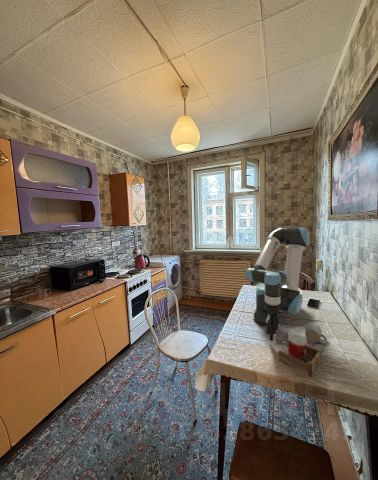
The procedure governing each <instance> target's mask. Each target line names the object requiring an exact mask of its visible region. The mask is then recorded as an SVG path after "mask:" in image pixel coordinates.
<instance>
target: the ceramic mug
mask: <svg viewBox="0 0 378 480" xmlns="http://www.w3.org/2000/svg"><path fill="white" fill-rule="evenodd" d="M305 337H306V338H305V339H306V340H308V341H309V342H311V343H319V342H320V343H322V344H325V345H326V344H327V343H328V341H329V340H328V338H327V337H326V336H325V335H324V334H323V333H322V329H321V327H320V326H319V325H318V324H316V323H314V322H309V323H307V324H306V325H305ZM321 337H322V338H321ZM323 339H324V340H323Z"/></svg>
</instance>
